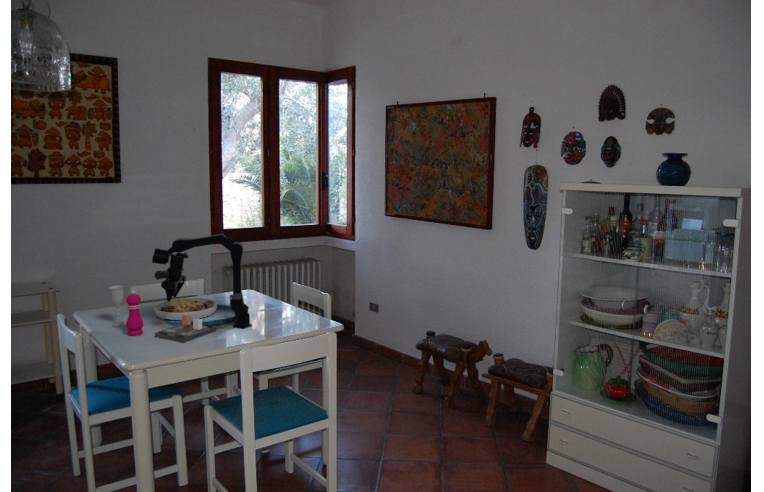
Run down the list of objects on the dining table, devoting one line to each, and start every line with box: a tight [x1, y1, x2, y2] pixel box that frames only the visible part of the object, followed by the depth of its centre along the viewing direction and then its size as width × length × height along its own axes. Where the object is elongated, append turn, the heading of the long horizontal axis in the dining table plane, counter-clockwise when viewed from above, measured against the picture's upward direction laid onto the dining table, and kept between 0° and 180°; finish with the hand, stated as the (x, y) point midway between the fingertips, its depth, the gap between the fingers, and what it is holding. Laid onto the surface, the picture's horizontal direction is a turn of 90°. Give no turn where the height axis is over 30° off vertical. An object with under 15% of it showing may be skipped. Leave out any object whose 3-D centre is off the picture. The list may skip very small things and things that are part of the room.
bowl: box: [153, 297, 218, 320], centre depth 295 cm, size 30×30×8 cm
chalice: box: [108, 285, 125, 327], centre depth 274 cm, size 7×7×18 cm
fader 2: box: [192, 318, 203, 330], centre depth 261 cm, size 3×2×4 cm
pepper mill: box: [125, 290, 145, 337], centre depth 260 cm, size 7×7×20 cm
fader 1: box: [181, 314, 192, 325], centre depth 268 cm, size 3×2×4 cm
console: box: [154, 320, 217, 344], centre depth 262 cm, size 17×20×3 cm
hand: (171, 299), depth 267 cm, fingers open, 9 cm apart
